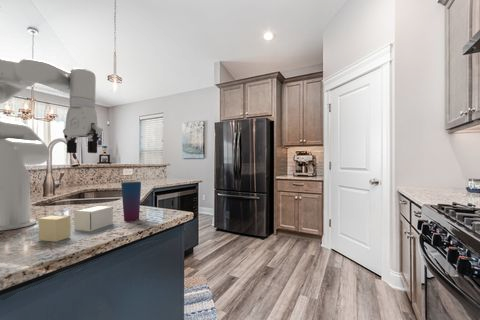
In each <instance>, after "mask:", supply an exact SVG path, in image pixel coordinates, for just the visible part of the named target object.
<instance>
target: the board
mask: <svg viewBox="0 0 480 320" xmlns="http://www.w3.org/2000/svg"><path fill="white" fill-rule="evenodd" d="M124 225H125V223H117V222H116V223H115V222H113V224H110V225H107V226H104V227H101V228H98V229H95V230H92V231H81V230H74V225H73V226H71V237H69V238H66V239H63V240H60V241H57V242H53V241H43V240H39V235H37V236H33V237H30V238H27V239H25V241H32V242H42V243H51V244H52V243H54V244H61V245H71V244H74V243H76V242H79V241H82V240H85V239H87V238H91V237H93V236H96V235H100V234H102V233H105V232H107V231H109V230H112V229H116V228H118V227H122V226H124Z"/></svg>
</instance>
